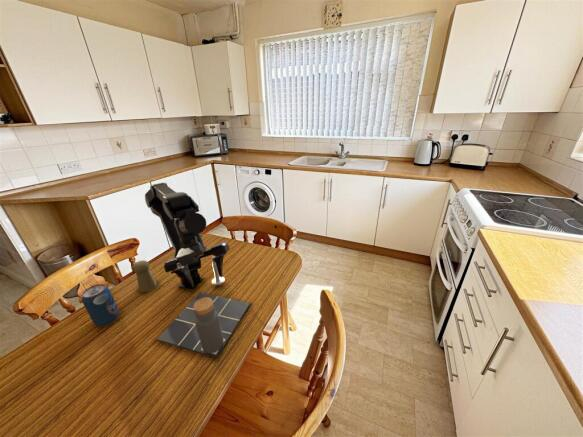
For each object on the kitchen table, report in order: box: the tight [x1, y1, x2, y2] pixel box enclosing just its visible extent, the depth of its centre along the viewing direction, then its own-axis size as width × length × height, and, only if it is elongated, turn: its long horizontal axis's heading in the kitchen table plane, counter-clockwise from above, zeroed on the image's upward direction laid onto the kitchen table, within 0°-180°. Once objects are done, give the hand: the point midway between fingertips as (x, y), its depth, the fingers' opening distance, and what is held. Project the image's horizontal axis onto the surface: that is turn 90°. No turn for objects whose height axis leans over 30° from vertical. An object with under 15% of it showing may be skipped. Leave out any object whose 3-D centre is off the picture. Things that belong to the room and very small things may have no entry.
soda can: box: [81, 283, 120, 327], centre depth 74 cm, size 7×7×12 cm
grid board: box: [156, 292, 251, 359], centre depth 75 cm, size 20×20×1 cm
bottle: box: [193, 297, 224, 353], centre depth 64 cm, size 6×6×15 cm
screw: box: [211, 255, 226, 288], centre depth 88 cm, size 13×5×5 cm
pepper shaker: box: [132, 259, 158, 293], centre depth 88 cm, size 6×6×11 cm
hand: (207, 282), depth 74 cm, fingers open, 9 cm apart
